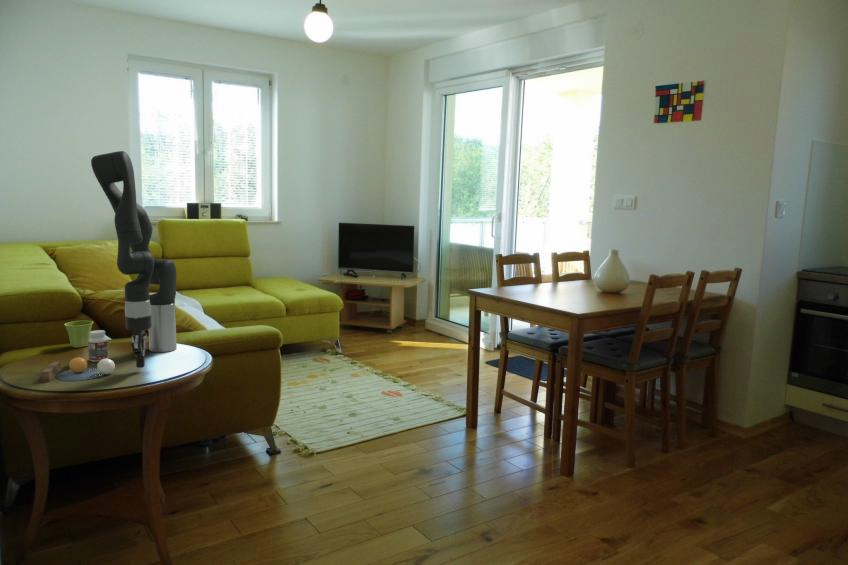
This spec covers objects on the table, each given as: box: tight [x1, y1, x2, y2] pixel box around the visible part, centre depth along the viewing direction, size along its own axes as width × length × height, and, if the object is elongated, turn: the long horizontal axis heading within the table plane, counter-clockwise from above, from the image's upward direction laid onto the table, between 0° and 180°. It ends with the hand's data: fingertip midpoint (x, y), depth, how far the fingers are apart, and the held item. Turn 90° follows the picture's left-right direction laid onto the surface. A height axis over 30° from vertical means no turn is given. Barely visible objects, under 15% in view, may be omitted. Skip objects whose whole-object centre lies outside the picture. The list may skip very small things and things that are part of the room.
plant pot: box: [64, 320, 94, 349], centre depth 228 cm, size 9×9×9 cm
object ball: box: [68, 356, 88, 373], centre depth 196 cm, size 5×5×5 cm
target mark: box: [55, 367, 105, 382], centre depth 194 cm, size 14×14×1 cm
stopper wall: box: [40, 360, 62, 383], centre depth 192 cm, size 12×2×3 cm, turn 15°
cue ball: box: [96, 358, 116, 375], centre depth 195 cm, size 5×5×5 cm
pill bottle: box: [88, 329, 109, 363], centre depth 210 cm, size 6×6×10 cm
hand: (140, 366), depth 198 cm, fingers closed
